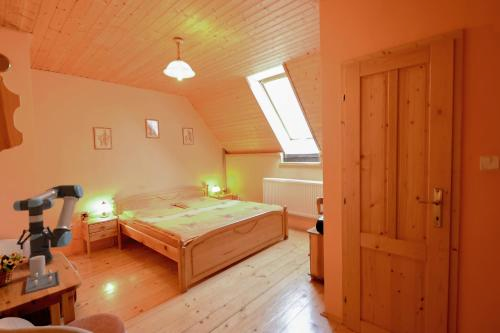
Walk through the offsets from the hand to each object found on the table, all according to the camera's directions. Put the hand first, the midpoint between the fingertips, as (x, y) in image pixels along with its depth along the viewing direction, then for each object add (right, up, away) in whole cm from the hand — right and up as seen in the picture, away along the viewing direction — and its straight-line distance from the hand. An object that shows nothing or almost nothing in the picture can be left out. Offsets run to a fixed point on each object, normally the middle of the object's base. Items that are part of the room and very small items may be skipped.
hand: (37, 251), depth 170 cm
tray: (+13, -17, -11) cm, 24 cm away
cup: (0, -17, 0) cm, 17 cm away
